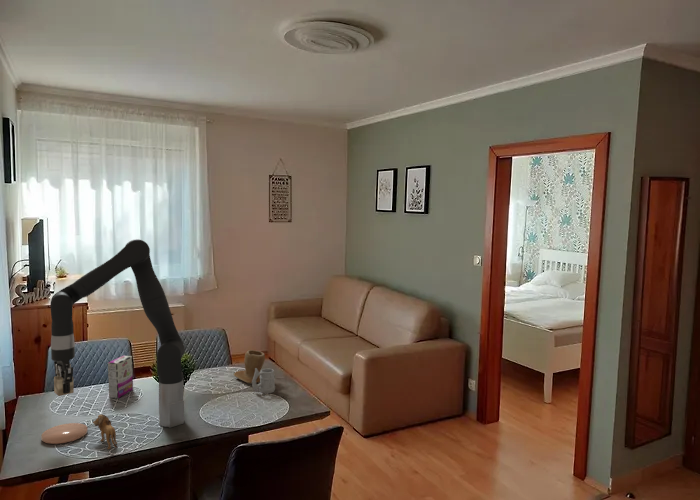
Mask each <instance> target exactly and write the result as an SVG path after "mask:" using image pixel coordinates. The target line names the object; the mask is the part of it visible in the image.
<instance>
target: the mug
mask: <svg viewBox="0 0 700 500" xmlns="http://www.w3.org/2000/svg"><path fill="white" fill-rule="evenodd" d="M259 375H260V382H258V384H257V383H256V379H257V377H258V376H259ZM275 378H276V375H275V370H274V369H273V368H269V367H268V368H261V370H260V373H259V371H258V370H257V368H255V373H254V377H253V380H252V384H251V387H252V389H253V390H254V392H257V391H258V389H259V392H260V393H262V394H272V393H274V392H275V390H276V385H275Z"/></svg>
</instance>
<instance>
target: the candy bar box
mask: <svg viewBox="0 0 700 500" xmlns="http://www.w3.org/2000/svg"><path fill="white" fill-rule="evenodd" d="M107 376H108V377H107V378H108V398H110V399H120V398H122V397H123V396H125V395H126V394H128V393H130V392H133V391H134V382H133V381H134V379H133V378H134V377H133V356H132V355H121V356H119V357H117V358H115V359H113V360H111V361H109V362H107Z"/></svg>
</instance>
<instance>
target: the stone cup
mask: <svg viewBox="0 0 700 500" xmlns="http://www.w3.org/2000/svg"><path fill="white" fill-rule="evenodd" d="M265 355H266V354H265V353H264V352H262V351H260V350H255V349H249V350H247V351H246V352H245V353H244V361H243V362H244V369H243V370H238V371H235V372H234V373H233V376H234V377H236V378H237V379H239V380H240V381H242V382H245V383H247V384H250V385H252V380H253V377H254V373H255V368H257V370H258V371H259V373H260V372H261V370H262V369H263V365H264V362H265V359H266V356H265ZM257 383H258V384H259V383H260V375H259V376H258V377H257V379H256V384H257Z"/></svg>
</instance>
